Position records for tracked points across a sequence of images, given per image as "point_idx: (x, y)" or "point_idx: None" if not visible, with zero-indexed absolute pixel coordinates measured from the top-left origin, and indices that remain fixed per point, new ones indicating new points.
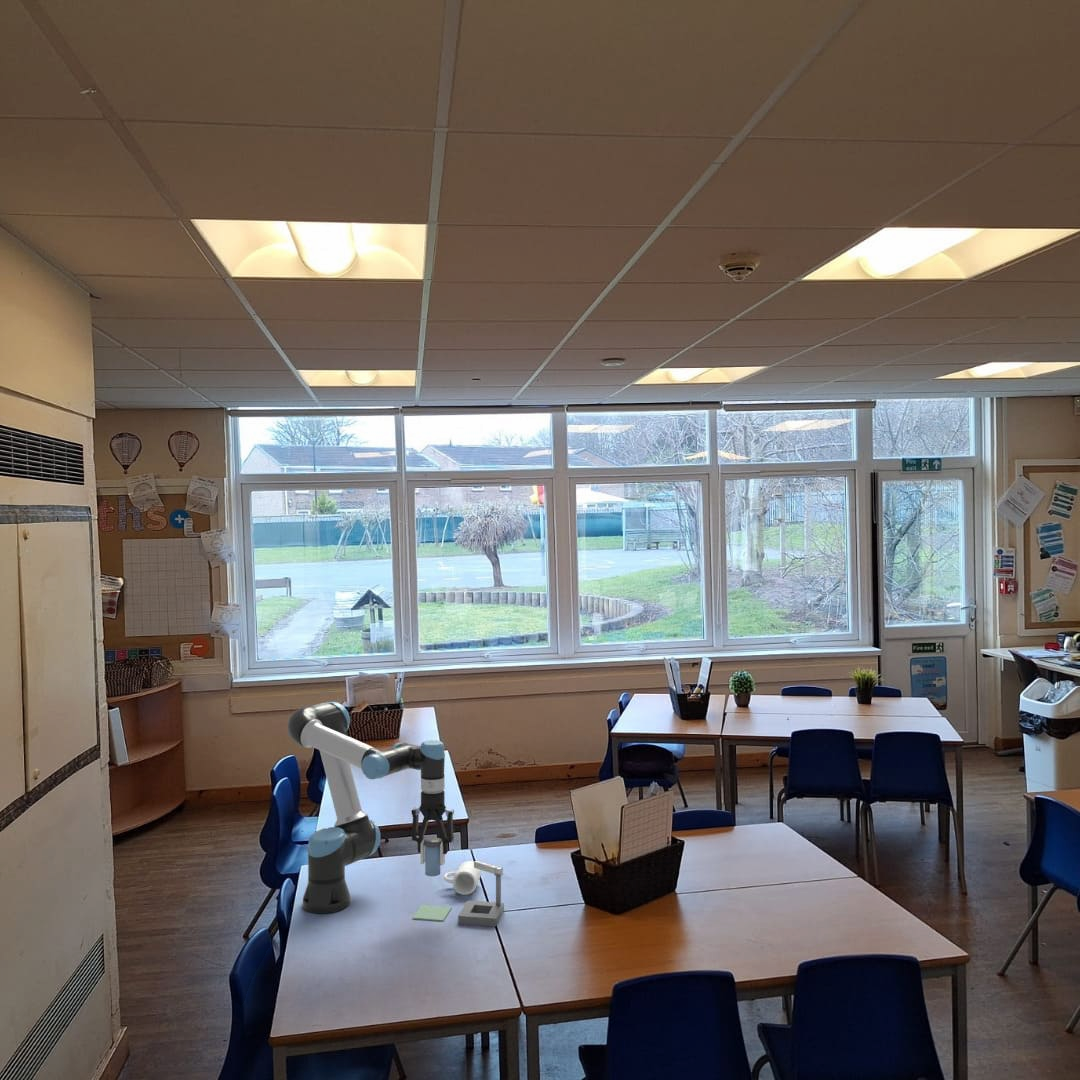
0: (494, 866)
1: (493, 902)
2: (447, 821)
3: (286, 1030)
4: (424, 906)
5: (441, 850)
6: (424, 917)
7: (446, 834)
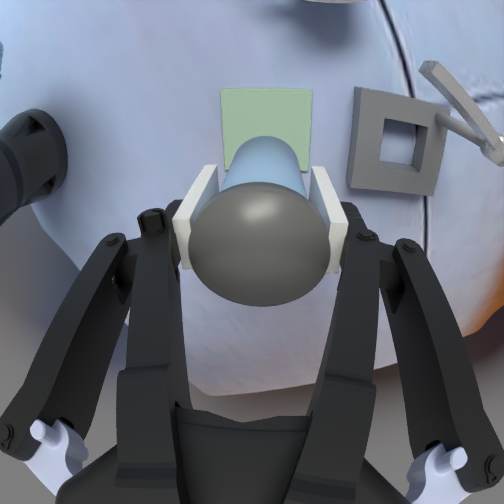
0: (495, 136)
1: (428, 104)
2: (411, 423)
3: (209, 393)
4: (231, 97)
5: None
6: None
7: (378, 271)
